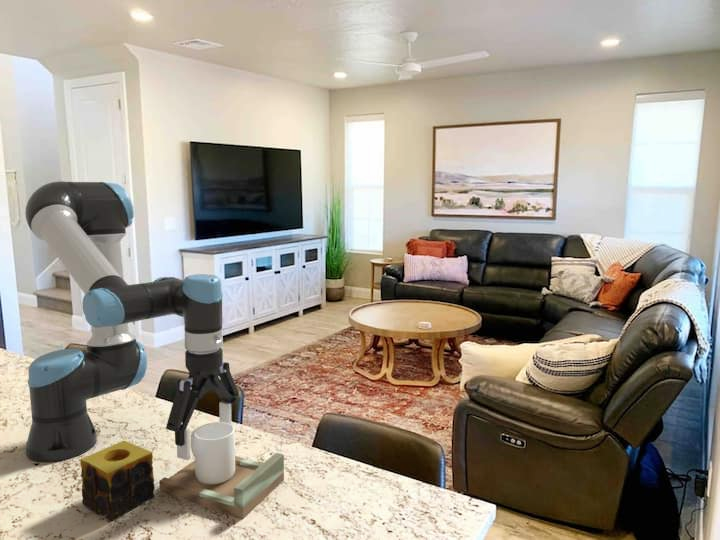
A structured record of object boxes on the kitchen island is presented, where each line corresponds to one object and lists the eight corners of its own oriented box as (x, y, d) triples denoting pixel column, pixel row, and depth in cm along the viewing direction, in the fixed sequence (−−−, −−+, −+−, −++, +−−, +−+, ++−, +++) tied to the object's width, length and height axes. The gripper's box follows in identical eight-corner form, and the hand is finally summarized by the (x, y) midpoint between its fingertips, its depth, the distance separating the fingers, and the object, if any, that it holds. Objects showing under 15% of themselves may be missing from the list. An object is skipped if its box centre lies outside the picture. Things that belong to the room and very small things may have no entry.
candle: (110, 523, 99) (107, 474, 97) (80, 505, 104) (77, 459, 103) (156, 497, 108) (154, 452, 106) (126, 482, 113) (124, 439, 111)
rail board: (159, 493, 109) (158, 466, 108) (207, 460, 122) (206, 436, 122) (243, 518, 101) (242, 490, 100) (284, 480, 114) (283, 454, 113)
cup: (213, 490, 107) (211, 443, 105) (176, 471, 113) (174, 428, 112) (243, 472, 113) (242, 428, 112) (207, 456, 120) (205, 414, 119)
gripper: (175, 370, 96) (178, 476, 99) (253, 336, 119) (253, 423, 122) (144, 363, 99) (148, 467, 102) (226, 331, 121) (227, 417, 125)
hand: (205, 443), depth 112 cm, fingers open, 13 cm apart
